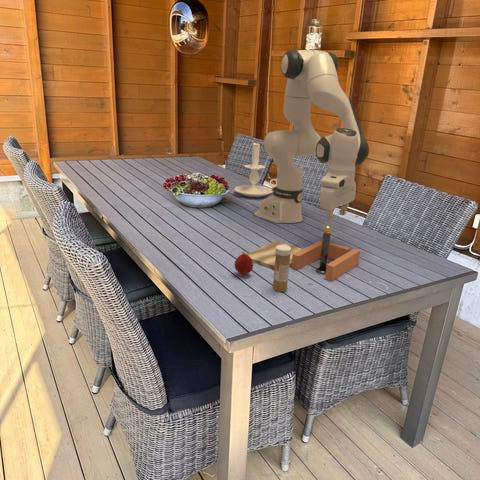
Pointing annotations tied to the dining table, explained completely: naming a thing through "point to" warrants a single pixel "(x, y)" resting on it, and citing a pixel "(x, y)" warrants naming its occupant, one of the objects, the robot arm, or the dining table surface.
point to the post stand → (324, 249)
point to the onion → (243, 264)
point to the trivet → (270, 254)
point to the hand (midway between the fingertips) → (336, 217)
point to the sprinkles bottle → (281, 267)
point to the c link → (339, 253)
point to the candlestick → (255, 177)
